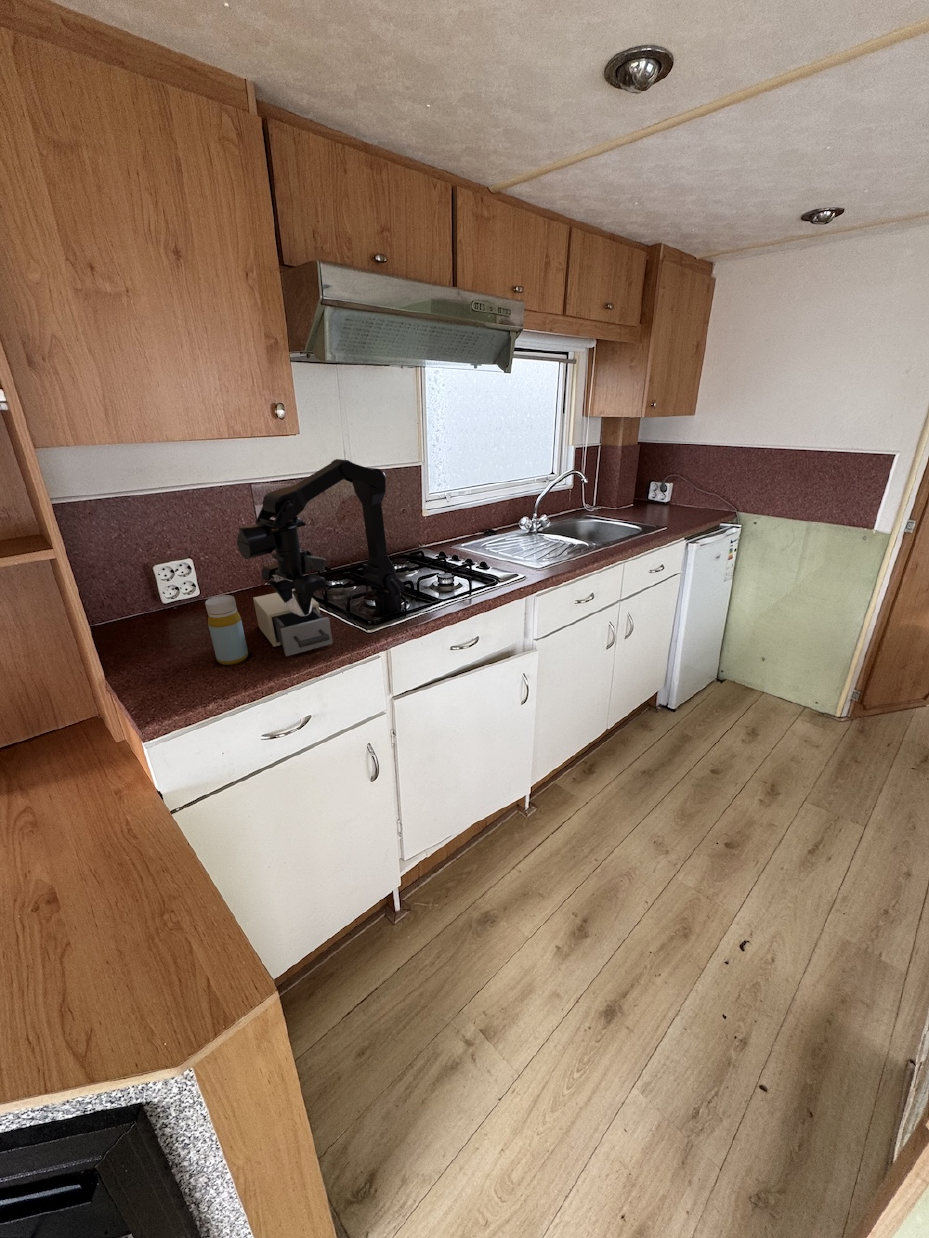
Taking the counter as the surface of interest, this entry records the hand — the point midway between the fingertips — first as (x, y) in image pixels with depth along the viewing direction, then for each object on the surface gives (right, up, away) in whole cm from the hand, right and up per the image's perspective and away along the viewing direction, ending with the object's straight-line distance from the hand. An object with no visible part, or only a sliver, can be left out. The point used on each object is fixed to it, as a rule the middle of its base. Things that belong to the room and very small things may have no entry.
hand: (298, 611), depth 129 cm
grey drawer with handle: (+1, -8, +2) cm, 8 cm away
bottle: (-15, -12, -2) cm, 19 cm away
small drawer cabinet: (-6, -5, +12) cm, 14 cm away
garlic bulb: (0, -1, +1) cm, 1 cm away
